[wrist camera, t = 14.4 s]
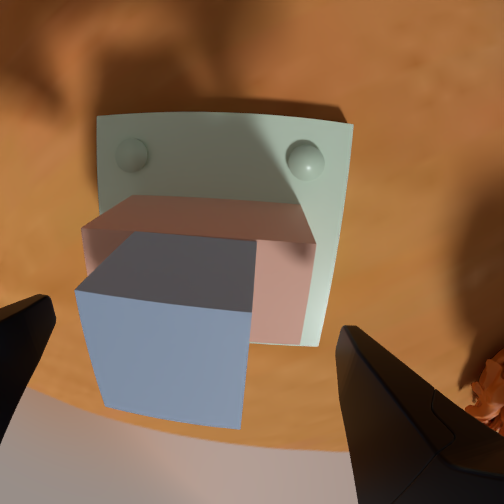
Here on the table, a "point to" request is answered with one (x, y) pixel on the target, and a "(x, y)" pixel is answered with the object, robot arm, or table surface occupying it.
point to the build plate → (235, 172)
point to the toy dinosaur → (490, 394)
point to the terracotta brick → (226, 227)
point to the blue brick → (172, 326)
